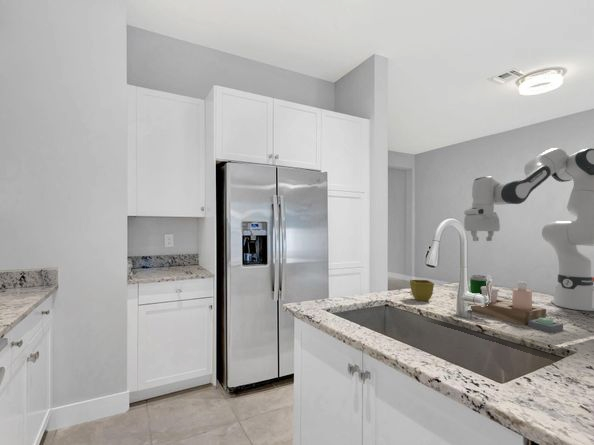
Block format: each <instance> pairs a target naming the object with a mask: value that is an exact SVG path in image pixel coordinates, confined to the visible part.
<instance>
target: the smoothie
mask: <svg viewBox="0 0 594 445" xmlns="http://www.w3.org/2000/svg"><path fill="white" fill-rule="evenodd" d="M481 290H482V295H486V296H487V289H486V286H482V287H481ZM499 290H500V289H499V288H498V287H494V286H492V296H491V302H490V303H496V300H497V299H498V293H499Z"/></svg>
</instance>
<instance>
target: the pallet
mask: <svg viewBox="0 0 594 445" xmlns="http://www.w3.org/2000/svg"><path fill="white" fill-rule="evenodd" d="M471 309H472V311H471V312H473V313H478V314H481V315H485V316H488V317H491V318H496V319H498V320H499V319H500V320H503V321H508V322H511V323H516V324H519V325H522V326H528V324H529V321H530V320H535V319H538V318H547V308H544V307H540V306H535V305H532V310H528V311H525V310H521V309H516V308H512V300H505V299H501V298H497V300H496V303H489V304H488V306H486V307H481V306H471Z"/></svg>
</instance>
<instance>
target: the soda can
mask: <svg viewBox="0 0 594 445" xmlns="http://www.w3.org/2000/svg"><path fill="white" fill-rule="evenodd" d="M487 278H488V276H485V275H480V274H476V275H475V274H473V275H472V276H470V280H469V283H470V285H469V288H470V289H469V292H472V293H480V294H482V290H481V287H482V286H486V281H487Z"/></svg>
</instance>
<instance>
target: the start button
mask: <svg viewBox="0 0 594 445" xmlns="http://www.w3.org/2000/svg"><path fill="white" fill-rule="evenodd" d="M538 322H539V323H543V324H547V325H552V324H553V322H554V320H553V319H552V318H549V317H546V318H538Z"/></svg>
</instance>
